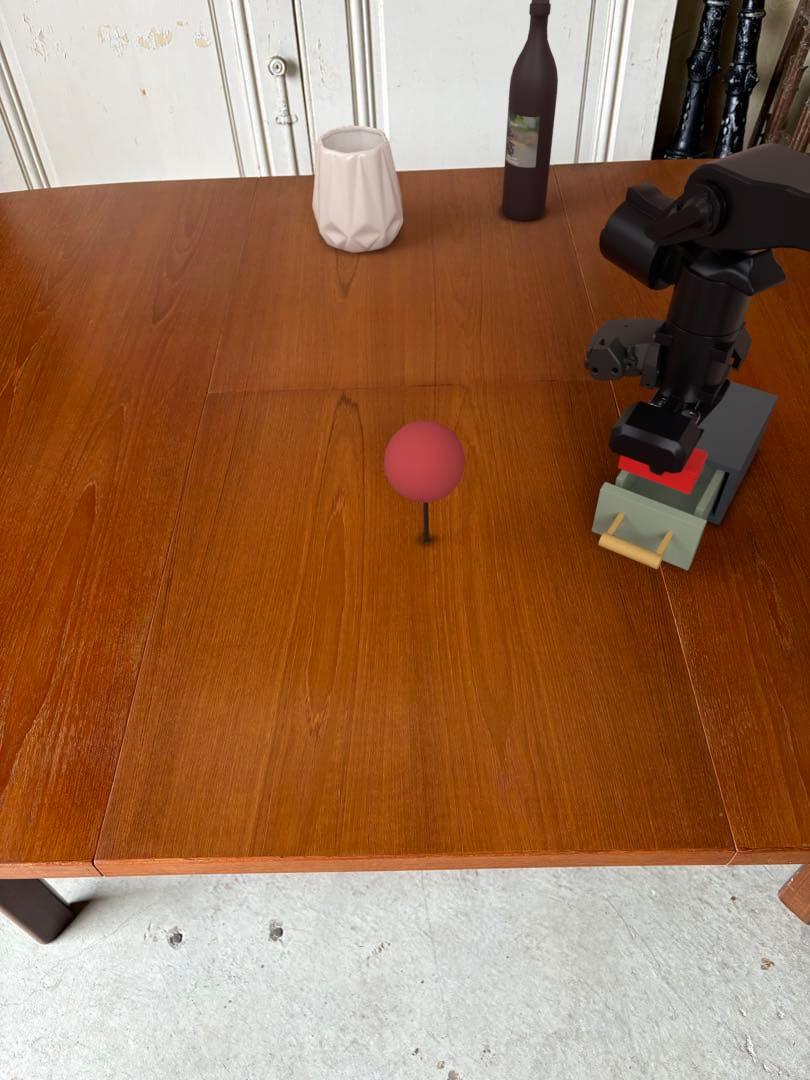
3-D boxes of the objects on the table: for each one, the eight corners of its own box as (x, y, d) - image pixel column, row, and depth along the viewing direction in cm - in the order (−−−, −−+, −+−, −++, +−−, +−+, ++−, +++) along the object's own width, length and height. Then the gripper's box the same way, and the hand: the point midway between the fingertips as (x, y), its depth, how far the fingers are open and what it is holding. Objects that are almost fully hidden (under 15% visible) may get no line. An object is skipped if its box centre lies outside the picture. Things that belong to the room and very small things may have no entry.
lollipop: (472, 525, 88) (477, 417, 77) (444, 575, 83) (445, 468, 72) (408, 505, 90) (404, 397, 79) (377, 553, 86) (368, 446, 74)
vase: (298, 245, 129) (285, 147, 118) (348, 208, 137) (340, 112, 125) (372, 267, 124) (365, 167, 112) (420, 227, 132) (418, 130, 120)
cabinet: (718, 525, 87) (739, 470, 81) (616, 486, 91) (629, 431, 85) (756, 451, 94) (778, 395, 88) (660, 418, 99) (675, 363, 92)
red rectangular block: (701, 472, 77) (708, 452, 75) (689, 494, 75) (696, 474, 73) (630, 447, 79) (635, 426, 77) (617, 468, 77) (622, 447, 75)
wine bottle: (496, 205, 136) (507, -4, 114) (536, 199, 137) (555, -10, 115) (509, 224, 131) (524, 11, 109) (551, 218, 132) (574, 5, 110)
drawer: (671, 602, 79) (685, 560, 74) (572, 560, 83) (580, 518, 78) (727, 494, 88) (743, 451, 84) (636, 461, 92) (647, 418, 88)
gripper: (649, 238, 72) (619, 380, 84) (561, 347, 62) (541, 491, 74) (777, 271, 68) (726, 415, 80) (705, 393, 58) (659, 538, 70)
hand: (663, 460), depth 76 cm, fingers closed on red rectangular block, 3 cm apart
